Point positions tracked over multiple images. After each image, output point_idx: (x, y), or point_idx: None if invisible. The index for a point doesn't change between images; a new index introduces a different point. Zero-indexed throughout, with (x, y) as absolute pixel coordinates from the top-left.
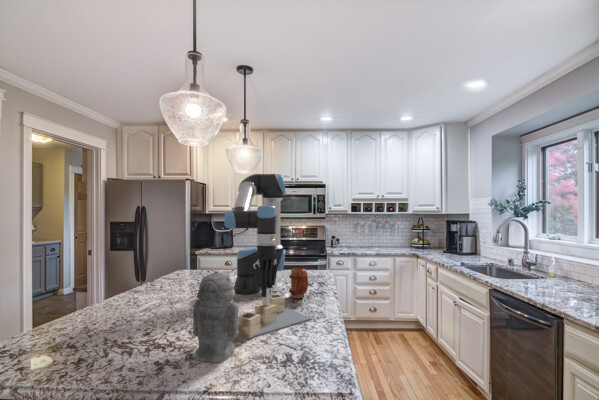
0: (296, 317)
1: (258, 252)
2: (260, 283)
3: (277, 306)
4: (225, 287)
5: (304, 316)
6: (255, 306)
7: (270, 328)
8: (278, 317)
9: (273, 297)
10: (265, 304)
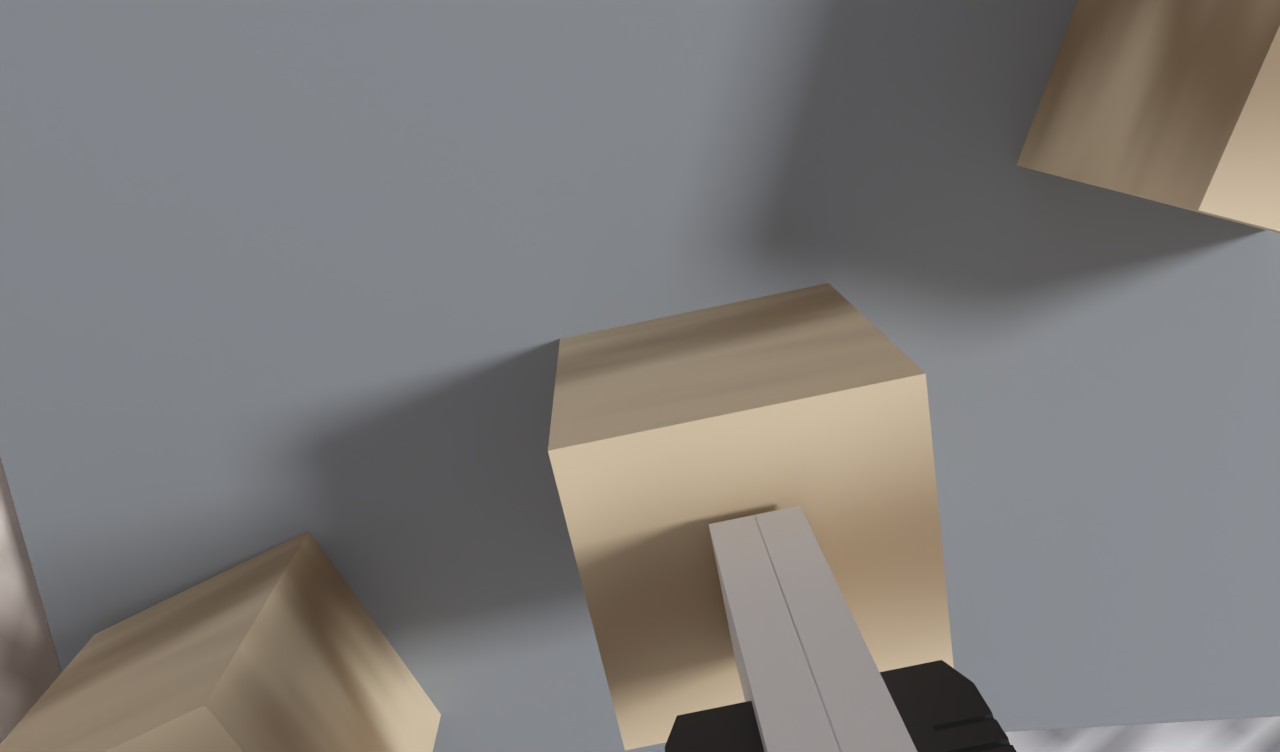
0: (1177, 581)
1: None
2: None
3: (1212, 215)
4: None
5: None
6: (550, 458)
7: (611, 703)
8: (973, 423)
9: None
10: (731, 634)
